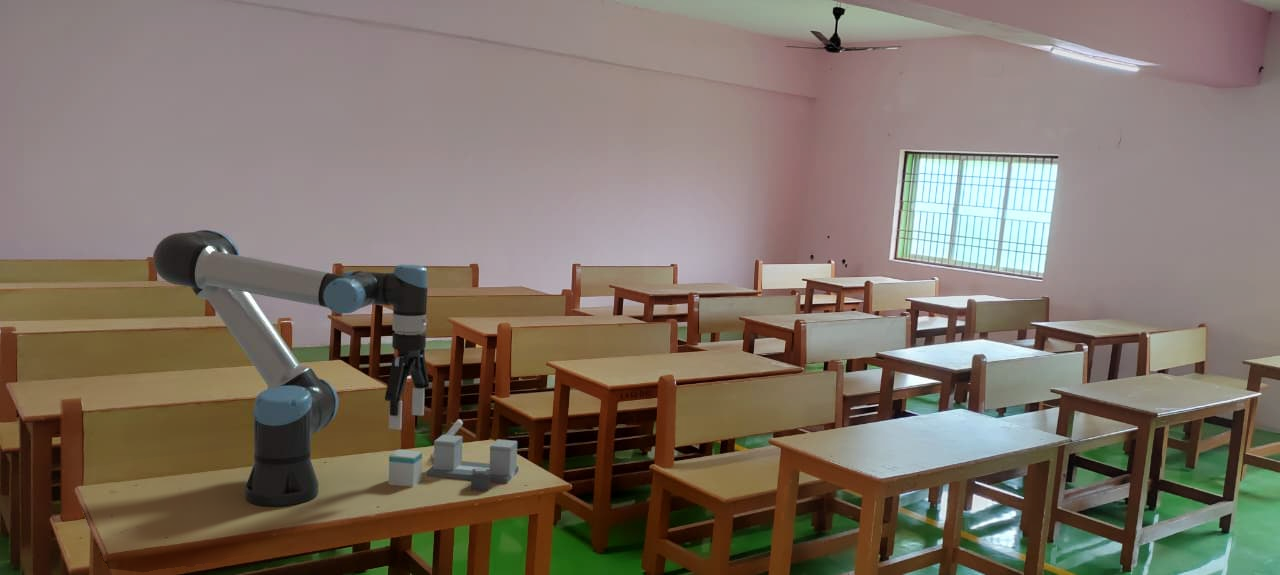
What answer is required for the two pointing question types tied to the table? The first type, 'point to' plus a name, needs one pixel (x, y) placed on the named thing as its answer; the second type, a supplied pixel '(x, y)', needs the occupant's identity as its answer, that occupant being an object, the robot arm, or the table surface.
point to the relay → (480, 479)
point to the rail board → (453, 466)
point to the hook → (453, 429)
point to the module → (405, 468)
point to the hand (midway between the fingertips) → (406, 421)
